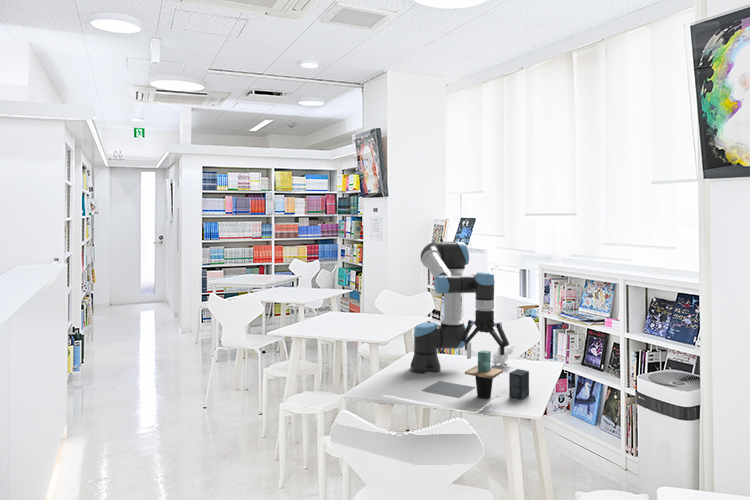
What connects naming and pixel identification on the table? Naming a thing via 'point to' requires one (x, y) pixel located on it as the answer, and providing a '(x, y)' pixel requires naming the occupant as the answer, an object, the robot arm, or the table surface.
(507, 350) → the character figurine
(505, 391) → the table surface
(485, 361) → the lid
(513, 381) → the box
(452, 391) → the mat
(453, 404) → the table surface
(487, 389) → the dixie cup
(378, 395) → the table surface
